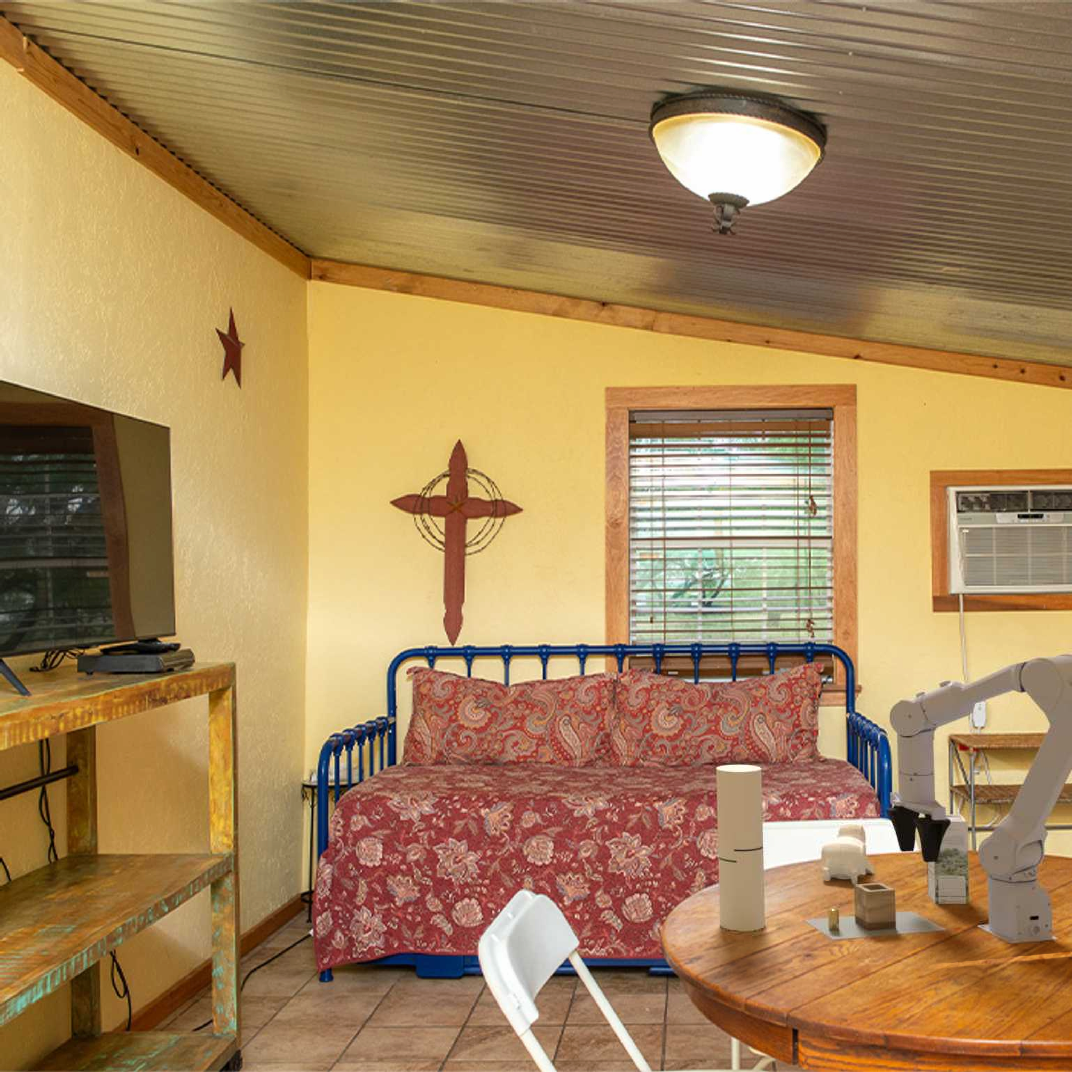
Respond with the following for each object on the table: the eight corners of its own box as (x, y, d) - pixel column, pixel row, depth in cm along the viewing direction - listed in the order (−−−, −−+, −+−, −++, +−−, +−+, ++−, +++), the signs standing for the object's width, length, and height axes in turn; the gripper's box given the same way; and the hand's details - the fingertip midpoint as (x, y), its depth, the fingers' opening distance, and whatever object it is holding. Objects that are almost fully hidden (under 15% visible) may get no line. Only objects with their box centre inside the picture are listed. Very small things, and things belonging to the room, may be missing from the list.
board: (947, 933, 190) (947, 929, 190) (833, 943, 187) (833, 939, 187) (911, 914, 201) (911, 911, 201) (803, 923, 197) (803, 919, 197)
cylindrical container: (764, 932, 193) (760, 772, 194) (718, 930, 195) (715, 771, 195) (765, 919, 200) (761, 765, 201) (721, 917, 202) (717, 764, 202)
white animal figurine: (866, 900, 222) (879, 852, 234) (862, 860, 219) (875, 814, 232) (819, 896, 225) (834, 849, 238) (814, 856, 223) (829, 811, 236)
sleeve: (896, 928, 192) (894, 889, 192) (868, 930, 191) (867, 891, 191) (882, 920, 196) (881, 882, 196) (855, 922, 195) (854, 884, 195)
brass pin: (841, 934, 191) (840, 910, 192) (831, 934, 191) (830, 911, 191) (836, 931, 193) (835, 908, 193) (827, 932, 193) (826, 908, 193)
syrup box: (961, 898, 211) (959, 812, 211) (970, 907, 205) (967, 819, 205) (927, 897, 211) (924, 812, 212) (935, 907, 205) (932, 819, 206)
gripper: (872, 767, 208) (875, 848, 208) (916, 781, 194) (918, 868, 194) (911, 765, 210) (913, 845, 210) (956, 778, 196) (959, 864, 195)
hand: (918, 856), depth 202 cm, fingers open, 7 cm apart
